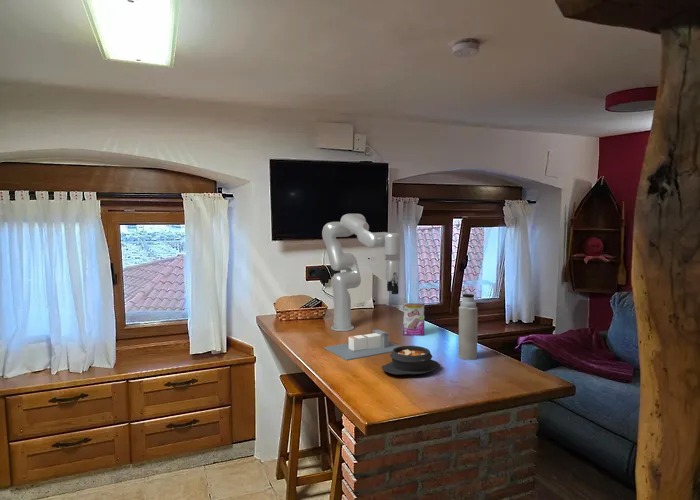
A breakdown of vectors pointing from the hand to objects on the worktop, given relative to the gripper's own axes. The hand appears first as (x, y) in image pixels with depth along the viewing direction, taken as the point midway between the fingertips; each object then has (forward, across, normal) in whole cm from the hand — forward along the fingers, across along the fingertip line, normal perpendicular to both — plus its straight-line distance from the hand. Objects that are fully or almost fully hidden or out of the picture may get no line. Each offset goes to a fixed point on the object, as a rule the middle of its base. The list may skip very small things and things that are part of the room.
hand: (392, 292), depth 227 cm
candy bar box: (+25, -13, +14) cm, 31 cm away
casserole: (+25, +42, -3) cm, 50 cm away
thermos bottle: (+25, +30, +27) cm, 47 cm away
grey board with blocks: (+25, +9, -16) cm, 31 cm away
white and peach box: (+25, +10, -20) cm, 33 cm away
